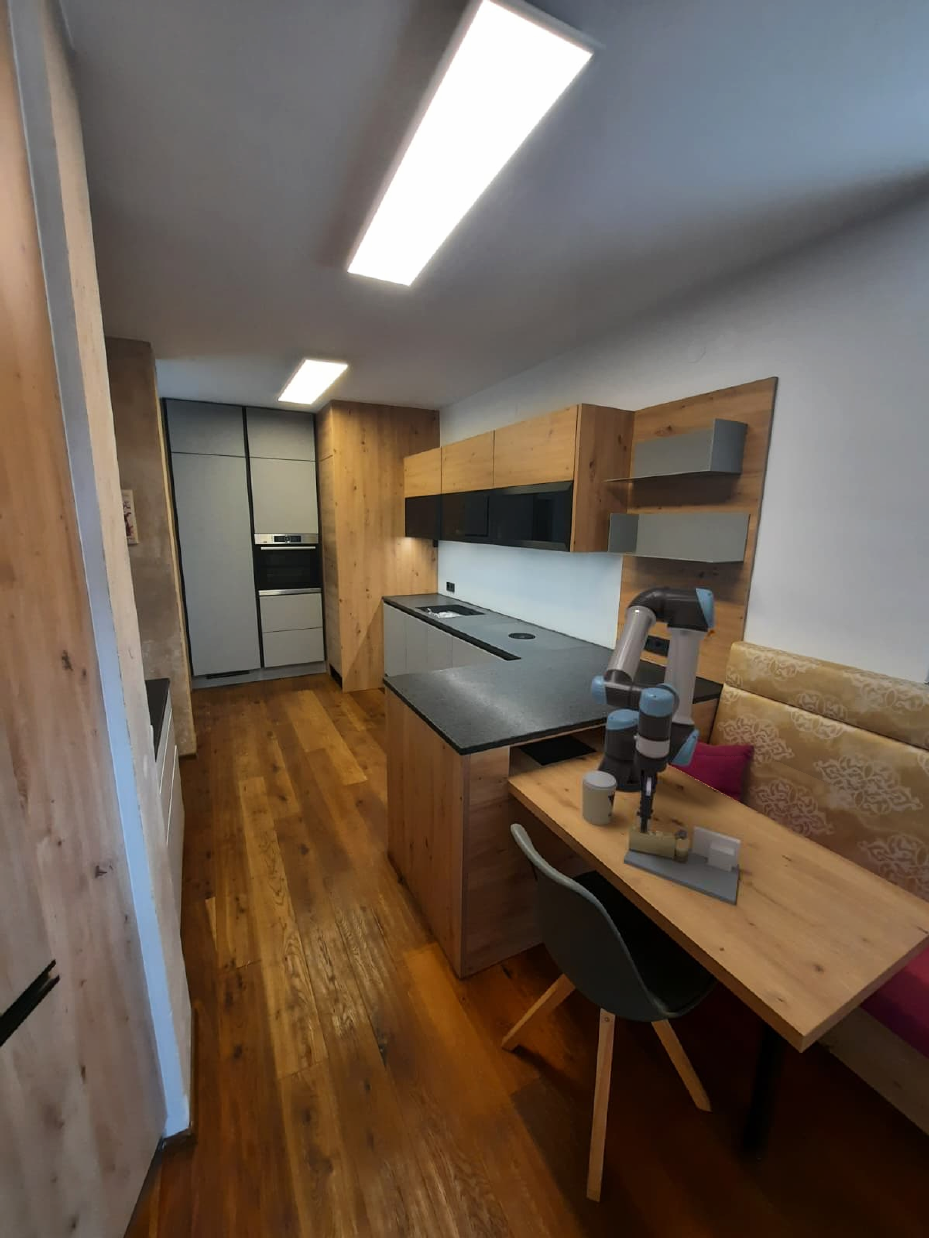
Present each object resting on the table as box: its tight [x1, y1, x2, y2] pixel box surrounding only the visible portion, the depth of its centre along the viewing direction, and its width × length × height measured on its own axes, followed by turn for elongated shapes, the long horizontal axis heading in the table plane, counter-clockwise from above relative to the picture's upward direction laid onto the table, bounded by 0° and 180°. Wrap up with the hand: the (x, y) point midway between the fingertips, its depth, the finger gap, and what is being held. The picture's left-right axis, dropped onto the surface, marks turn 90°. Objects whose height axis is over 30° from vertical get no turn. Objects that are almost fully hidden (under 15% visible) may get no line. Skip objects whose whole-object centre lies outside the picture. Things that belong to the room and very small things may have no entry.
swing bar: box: [628, 825, 692, 862], centre depth 119 cm, size 14×4×6 cm, turn 71°
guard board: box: [623, 825, 741, 906], centre depth 116 cm, size 14×24×8 cm, turn 57°
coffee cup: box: [581, 770, 617, 826], centre depth 135 cm, size 9×9×12 cm
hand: (642, 837), depth 122 cm, fingers closed
